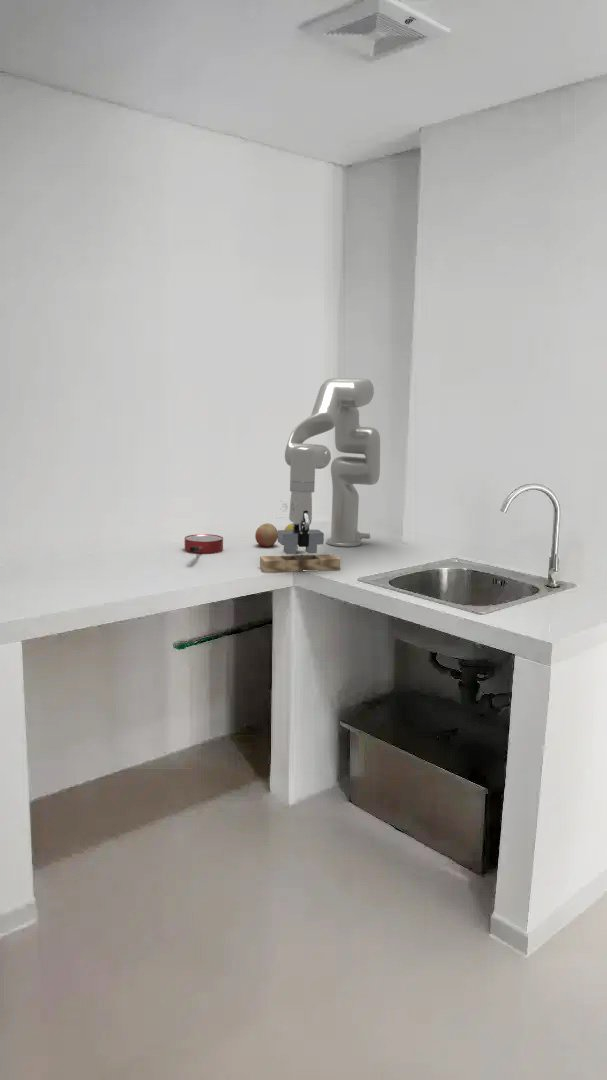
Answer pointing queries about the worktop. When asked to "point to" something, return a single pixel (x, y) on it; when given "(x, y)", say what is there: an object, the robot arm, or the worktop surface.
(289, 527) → the light bulb
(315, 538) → the brushed steel slab
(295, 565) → the light brown long block
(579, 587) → the worktop surface
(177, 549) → the worktop surface
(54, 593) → the worktop surface
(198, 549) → the frying pan
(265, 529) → the fruit
